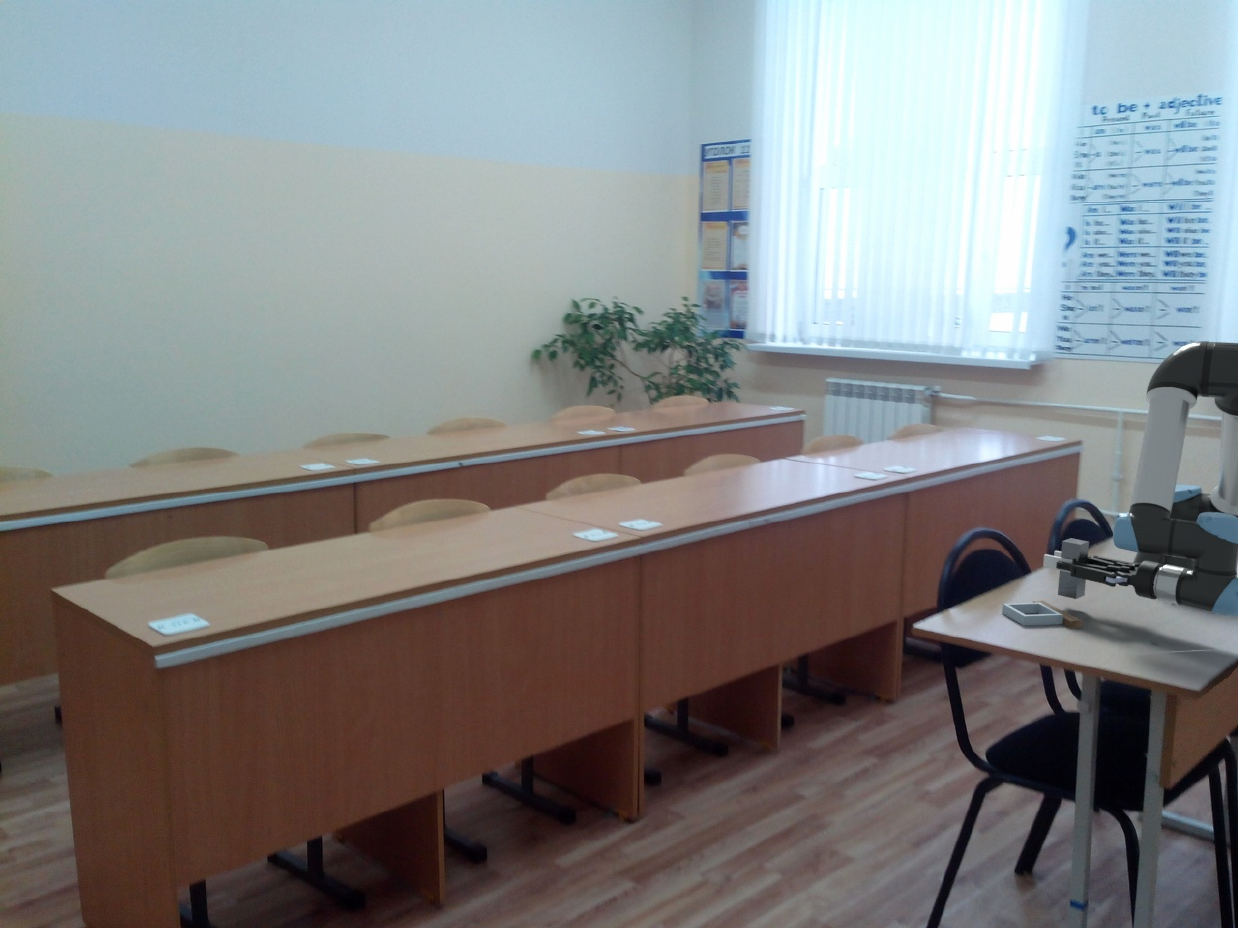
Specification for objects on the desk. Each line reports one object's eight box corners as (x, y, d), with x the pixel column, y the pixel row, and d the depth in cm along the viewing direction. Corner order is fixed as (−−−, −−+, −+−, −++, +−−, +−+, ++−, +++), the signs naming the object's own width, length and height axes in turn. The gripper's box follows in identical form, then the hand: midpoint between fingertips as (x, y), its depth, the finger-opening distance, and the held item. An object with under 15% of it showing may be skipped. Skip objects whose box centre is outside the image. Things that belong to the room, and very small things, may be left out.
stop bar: (1066, 591, 230) (1071, 538, 228) (1084, 595, 227) (1089, 541, 225) (1057, 594, 228) (1062, 541, 226) (1075, 599, 225) (1080, 544, 223)
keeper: (1039, 611, 225) (1039, 602, 225) (1062, 623, 217) (1063, 614, 216) (1002, 612, 224) (1002, 603, 223) (1023, 625, 215) (1024, 616, 215)
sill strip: (1043, 607, 228) (1043, 600, 228) (1081, 627, 215) (1081, 620, 214) (1032, 607, 228) (1033, 601, 227) (1070, 628, 214) (1070, 621, 214)
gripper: (1141, 608, 208) (1029, 582, 225) (1175, 591, 219) (1066, 568, 237) (1144, 571, 207) (1031, 548, 224) (1179, 557, 218) (1069, 535, 235)
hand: (1049, 558), depth 230 cm, fingers closed on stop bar, 4 cm apart
